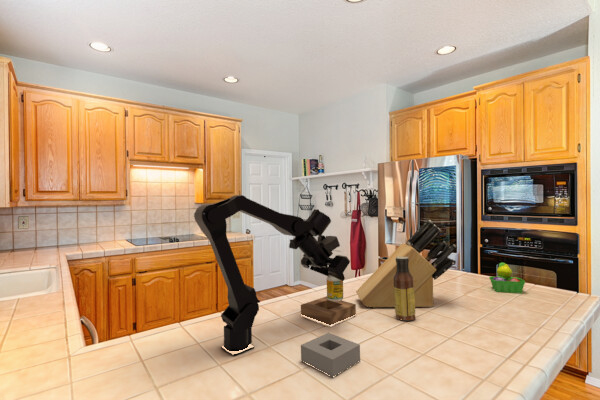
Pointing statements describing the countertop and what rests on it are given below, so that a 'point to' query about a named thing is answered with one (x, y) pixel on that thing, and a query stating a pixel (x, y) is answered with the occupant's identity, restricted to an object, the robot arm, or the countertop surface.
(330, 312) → the walnut sleeve block
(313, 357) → the grey narrow collar
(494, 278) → the fruit basket
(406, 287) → the sauce bottle
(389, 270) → the knife block
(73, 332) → the countertop surface
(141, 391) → the countertop surface
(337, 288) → the supplement bottle
